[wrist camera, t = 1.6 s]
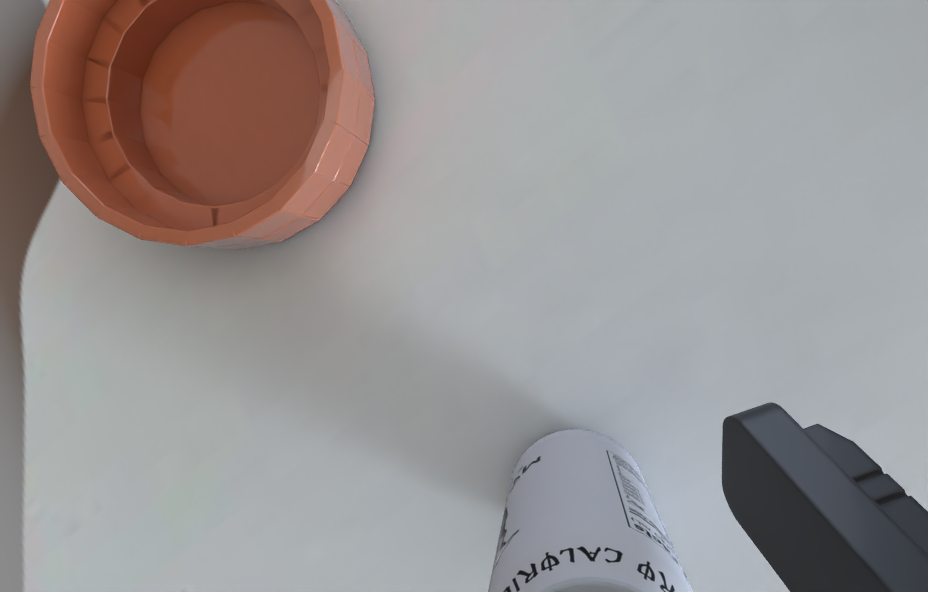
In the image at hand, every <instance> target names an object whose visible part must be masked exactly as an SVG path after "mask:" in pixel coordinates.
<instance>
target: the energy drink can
mask: <svg viewBox="0 0 928 592" xmlns="http://www.w3.org/2000/svg"><path fill="white" fill-rule="evenodd" d="M488 592H693V591H692V589H691V586H690V584H689V582H688V579H687V577H686V575H685V573H684V570H683V568H682V566H681V563H680V561H679V559H678V557H677V554H676V552H675V550H674V547H673V545H672V543H671V541H670V538H669V536H668V534H667V531H666V529H665V527H664V524H663V522H662V520H661V518H660V515H659V513H658V511H657V508H656V506H655V504H654V502H653V499H652V497H651V495H650V492H649V490H648V488H647V486H646V483H645V481H644V479H643V476H642V474H641V472H640V469H639V468H638V466H637V465H636V463H635V461H634V460H633V458H632V457H631V456H630V455H629V454H628V452H627V451H626V450H625V449H624V448H623V447H622V446H620V445H619V444H618V443H616V442H615V441H613V440H612V439H610V438H608V437H606V436H604V435H602V434H600V433H596V432H592V431H588V430H578V429H571V430H563V431H558V432H555V433H552V434H549V435H547V436H545V437H543V438H541V439H540V440H538V441H536V442H535V443H534V444H533V445H531V446H530V447H529V448H528V449H527V450H526V451H525V452H524V454H523V455H522V456H521V458H520V459H519V460H518V462H517V464H516V466H515V469H514V471H513V473H512V477H511V482H510V486H509V491H508V496H507V501H506V506H505V511H504V516H503V521H502V526H501V531H500V536H499V541H498V546H497V551H496V556H495V561H494V566H493V570H492V575H491V580H490V585H489V590H488Z"/></svg>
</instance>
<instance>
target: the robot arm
mask: <svg viewBox="0 0 928 592" xmlns="http://www.w3.org/2000/svg"><path fill="white" fill-rule="evenodd" d="M722 486H723V491H724V494H725V498H726V500H727V503H728V505H729V507H730V509H731V511H732V513H733V515H734V516H735V518H736V520H737V521H738V522H739V524H740V525H741V527H742V528H743V529H744V531H745V532H746V533H747V535H748V536H749V537H750V539H751V540H752V541H753V543H754V544H755V545H756V546H757V548H758V549H759V550H760V552H761V553H762V554H763V556H764V557H765V558H766V560H767V561H768V562H769V564H770V565H771V566H772V568H773V569H774V570H775V572H776V573H777V574H778V576H779V577H780V578H781V580H782V581H783V582H784V584H785V585H786V586H787V588H788V589H789V590H790V592H928V512H927V511H926V510H925V509H924V508H923V507H922V506H921V505H920V504H919V503H918V502H917V501H916V500H915V499H914V498H913V497H911V496H907V495H906V493H905V490H904V489H903V488H902V487H901V486H900V485H899V484H898V483H897V482H896V481H895V480H893V479H892V478H891V477H890V476H889V475H888V474H884V473H883V472H882V468H881V467H880V466H879V465H878V464H877V463H875V462H874V461H873V460H872V459H871V458H870V457H869V456H868V455H867V454H866V453H865V452H864V451H863V450H862V449H861V448H860V447H858V446H857V445H856V444H855V443H854V442H853V441H851V440H849V439H847V438H845V437H843V436H841V435H839V434H837V433H835V432H833V431H831V430H829V429H827V428H825V427H823V426H821V425H819V424H816V425H813V426H810V427H807V428H804V429H803V428H802V427H801V426H800V425H799V424H798V423H797V422H796V421H795V420H794V419H793V418H792V417H791V416H790V415H789V414H788V413H787V412H786V411H785V410H784V409H783V408H782V407H780V406H779V405H777V404H775V403H767V404H764V405H761V406H758V407H755V408H752V409H749V410H746V411H743V412H740V413H738V414H735V415H732V416H729V417H727V418H725V420H724V422H723V441H722Z"/></svg>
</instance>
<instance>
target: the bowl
mask: <svg viewBox="0 0 928 592" xmlns="http://www.w3.org/2000/svg"><path fill="white" fill-rule="evenodd" d="M30 87H31V95H32V101H33V106H34V111H35V117H36V122H37V128H38V133H39V137H40V140H41V142H42V144H43V146H44V148H45V149H46V151H47V153H48V155H49V157H50V159H51V161H52V163H53V165H54V167H55V169H56V171H57V173H58V175H59V177H60V179H61V181H62V182H63V183H64V184H65V185H66V186H67V187H68V188H69V190H70V191H71V192H72V193H73V194H74V195H75V196H76V197H77V198H78V199H79V200H80V201H81V202H82V203H83V204H84V205H85V206H86V207H87V208H88V209H89V210H90V211H91V212H92V213H93V214H94V215H95V216H97V217H98V218H99V219H101V220H103V221H105V222H107V223H109V224H111V225H113V226H115V227H117V228H119V229H121V230H123V231H125V232H127V233H129V234H131V235H133V236H135V237H137V238H139V239H142V240H148V241H155V242H162V243H169V244H176V245H183V246H194V247H209V248H225V249H246V248H251V247H256V246H261V245H267V244H272V243H277V242H281V241H284V240H285V239H287V238H289V237H291V236H292V235H294V234H296V233H298V232H299V231H301V230H303V229H305V228H307V227H308V226H310V225H312V224H314V223H315V222H317V221H318V220H319V219H321V218H322V217H323V216H324V215H325V214H326V213H327V212H328V211H329V209H330V208H331V207H332V206H333V205H334V204H335V203H336V202H337V201H338V200H339V198H340V197H341V196H342V195H343V194H344V193H345V192H346V191H347V190H348V189H349V186H351V184H352V181H353V179H354V177H355V175H356V173H357V171H358V168H359V166H360V164H361V162H362V160H363V158H364V155H365V153H366V151H367V149H368V145H369V142H370V134H371V126H372V119H373V111H374V103H375V100H374V98H375V97H374V91H373V86H372V80H371V74H370V69H369V63H368V58H367V55H366V51H365V49H364V48H363V46H362V44H361V42H360V40H359V38H358V36H357V34H356V32H355V31H354V29H353V27H352V25H351V23H350V21H349V19H348V17H347V15H346V14H345V13H344V12H343V10H342V9H341V8H340V7H339V6H338V4H337V3H336V2H335V1H334V0H50V1H49V4H48V6H47V9H46V11H45V14H44V16H43V18H42V21H41V23H40V26H39V28H38V31H37V33H36V37H35V43H34V53H33V62H32V73H31V82H30Z"/></svg>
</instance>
